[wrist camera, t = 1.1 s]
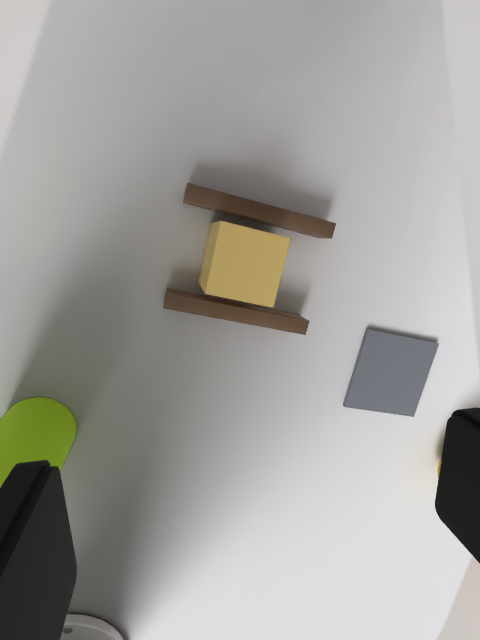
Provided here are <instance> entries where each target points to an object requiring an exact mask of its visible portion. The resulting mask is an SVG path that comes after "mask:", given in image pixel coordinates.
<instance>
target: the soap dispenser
mask: <svg viewBox="0 0 480 640" xmlns="http://www.w3.org/2000/svg"><path fill="white" fill-rule="evenodd" d="M76 433H77V425H76V421H75V418H74V416H73V414H72V413H71V411H70V410H69V409H68V408H67V407H66V406H64V405H63V404H62V403H60V402H58V401H56V400H53V399H50V398H44V397H34V398H28V399H25V400H22V401H20V402H18V403H16V404H15V405H13V406H12V407H11V408H10V409H9V410H8V411H7V412H6V413H5V415H4V416H3V417H2V418H1V419H0V487H1V486H2V484H3V483H4V481H5V479H6V478H7V476H8V475H9V473H10V472H11V470H12V469H13V467H14V466H15V465H16V464H18V463H23V462H32V461H40V460H48V461H49V463H50V466H58V468H59V470H60V471H61V469H62V466H63V464H64V462H65V460H66V458H67V455H68V453H69V451H70V449H71V447H72V444H73V442H74V440H75V437H76Z"/></svg>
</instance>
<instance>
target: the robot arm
mask: <svg viewBox="0 0 480 640" xmlns="http://www.w3.org/2000/svg"><path fill="white" fill-rule="evenodd" d="M435 508H436V512H437V514H438V516H439V518H440V519H441V520H442V522H443V523H444V524H445V525H446V526H447V527H448V528H449V529H450V531H451V532H452V533H453V534H454V535H455V536H456V537H457V538H458V539H459V541H460V542H461V543H462V544H463V545H464V546H465V547H466V548H467V550H468V551H469V552H470V553H471V554H472V555H473V556H474V557H475V558H476V560H477V561H478V562H479V563H480V408H470V409H462V410H456V411H454V412H453V414H452V416H451V417H450V418H449V419H448V421H447V427H446V433H445V440H444V446H443V453H442V460H441V466H440V473H439V480H438V486H437V493H436V500H435ZM76 573H77V564H76V558H75V552H74V547H73V541H72V536H71V530H70V525H69V519H68V514H67V508H66V503H65V497H64V492H63V486H62V480H61V475H60V470H59V468H58V466H50V463H49V461H48V460H40V461H32V462H23V463H18V464H16V465H15V466H14V467H13V469H12V470H11V472H10V473H9V475H8V476H7V478H6V479H5V481H4V483H3V484H2V486H1V487H0V640H124V639H123V638H122V636H121V635H120V633H119V632H118V631H117V630H116V629H115V628H114V627H113V626H111V625H109V624H108V623H106V622H105V621H103V620H100V619H97V618H95V617H91V616H86V615H79V614H67V612H68V608H69V604H70V601H71V597H72V593H73V590H74V586H75V581H76Z"/></svg>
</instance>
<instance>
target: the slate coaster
mask: <svg viewBox="0 0 480 640" xmlns="http://www.w3.org/2000/svg"><path fill="white" fill-rule="evenodd" d="M438 345H439V343H436V342H431V341H426V340H421V339H416V338H411V337H406V336H401V335H396V334H391V333H387V332H382V331H377V330H372V329H367V328H366V332H365V335H364V338H363V341H362V345H361V348H360V351H359V354H358V358H357V361H356V364H355V368H354V371H353V374H352V377H351V381H350V384H349V387H348V390H347V394H346V397H345V400H344V404H343V406H344V407H349V408H356V409H363V410H370V411H377V412H384V413H391V414H398V415H405V416H412V417H414V414H415V411H416V408H417V406H418V403H419V400H420V397H421V394H422V391H423V388H424V385H425V382H426V380H427V377H428V374H429V371H430V368H431V365H432V362H433V359H434V357H435V354H436V351H437V348H438Z"/></svg>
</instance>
